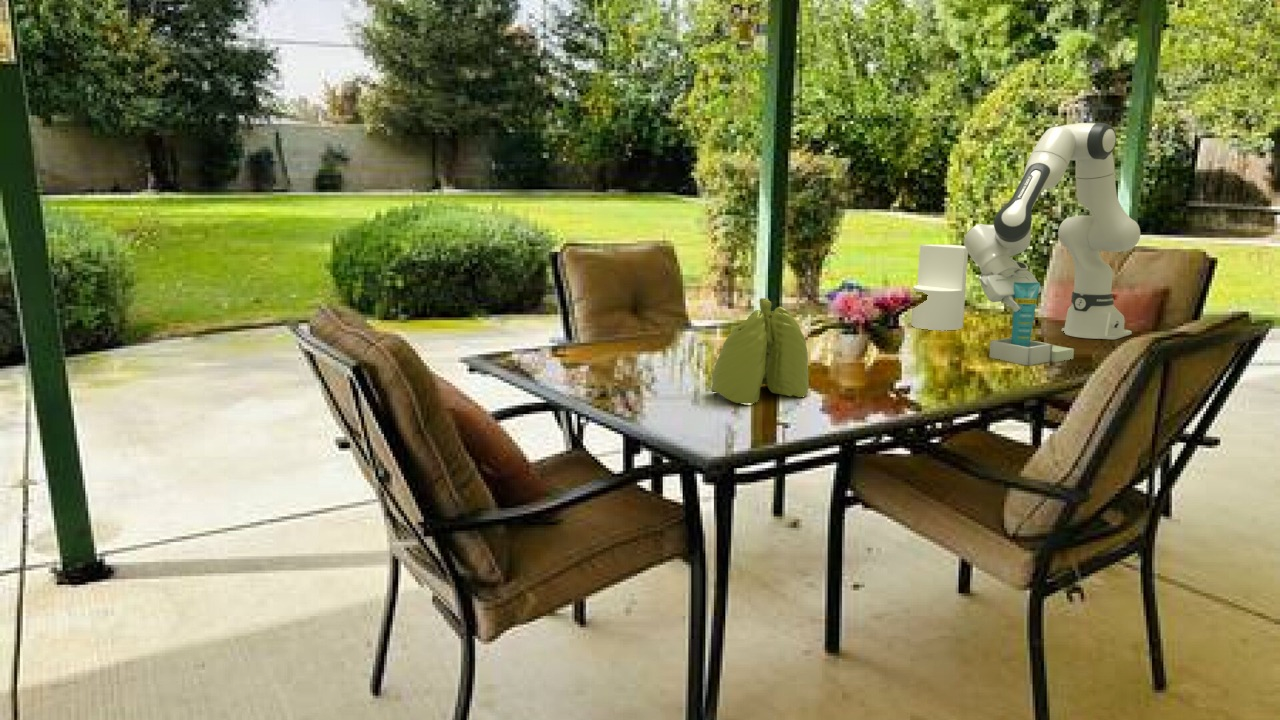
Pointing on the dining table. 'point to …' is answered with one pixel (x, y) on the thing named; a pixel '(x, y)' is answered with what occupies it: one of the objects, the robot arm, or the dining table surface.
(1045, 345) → the grey open tray
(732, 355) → the lungs
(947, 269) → the white chair
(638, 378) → the dining table surface
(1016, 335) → the tube
